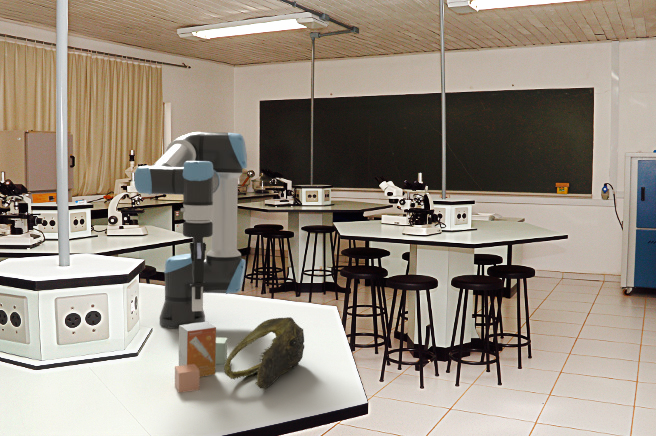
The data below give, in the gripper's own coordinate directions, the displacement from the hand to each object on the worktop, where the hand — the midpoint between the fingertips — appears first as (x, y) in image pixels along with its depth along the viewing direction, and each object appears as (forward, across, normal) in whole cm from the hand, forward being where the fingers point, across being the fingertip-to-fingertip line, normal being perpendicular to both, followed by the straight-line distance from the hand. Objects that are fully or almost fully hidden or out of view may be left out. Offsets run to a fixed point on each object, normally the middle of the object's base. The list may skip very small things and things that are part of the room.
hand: (197, 310), depth 159 cm
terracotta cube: (+17, +9, -3) cm, 20 cm away
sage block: (+17, -9, +6) cm, 20 cm away
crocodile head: (+18, +6, +18) cm, 26 cm away
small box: (+17, 0, 0) cm, 17 cm away
